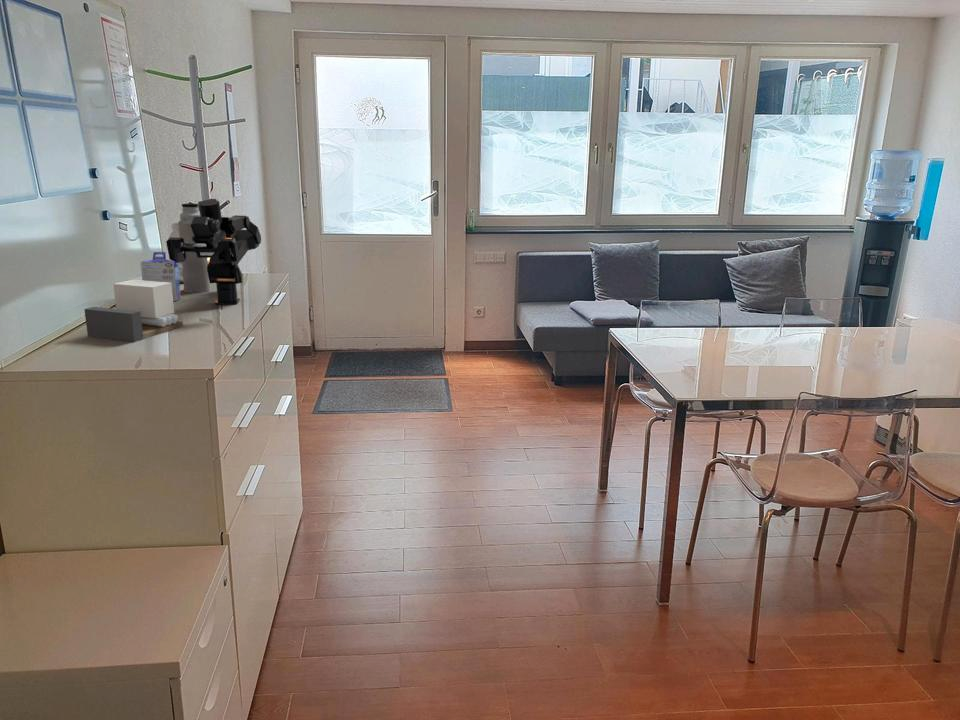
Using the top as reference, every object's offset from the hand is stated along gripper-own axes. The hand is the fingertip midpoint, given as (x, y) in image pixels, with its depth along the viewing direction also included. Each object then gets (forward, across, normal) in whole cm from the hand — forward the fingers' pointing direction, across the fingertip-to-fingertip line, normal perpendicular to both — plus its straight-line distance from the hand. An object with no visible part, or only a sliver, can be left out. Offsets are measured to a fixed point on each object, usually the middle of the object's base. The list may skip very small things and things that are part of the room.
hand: (192, 261), depth 200 cm
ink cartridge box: (-23, -20, +23) cm, 38 cm away
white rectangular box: (+12, -10, +13) cm, 20 cm away
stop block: (+23, -14, +11) cm, 29 cm away
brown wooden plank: (+16, -11, +13) cm, 23 cm away
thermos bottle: (-38, -16, +27) cm, 49 cm away
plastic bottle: (-51, -26, +30) cm, 65 cm away
